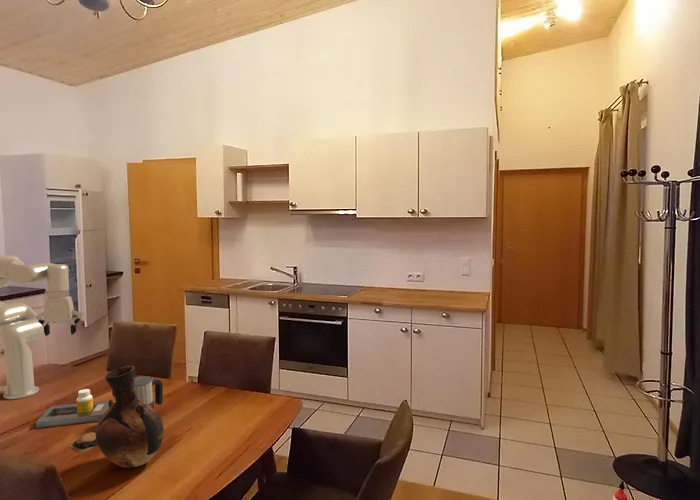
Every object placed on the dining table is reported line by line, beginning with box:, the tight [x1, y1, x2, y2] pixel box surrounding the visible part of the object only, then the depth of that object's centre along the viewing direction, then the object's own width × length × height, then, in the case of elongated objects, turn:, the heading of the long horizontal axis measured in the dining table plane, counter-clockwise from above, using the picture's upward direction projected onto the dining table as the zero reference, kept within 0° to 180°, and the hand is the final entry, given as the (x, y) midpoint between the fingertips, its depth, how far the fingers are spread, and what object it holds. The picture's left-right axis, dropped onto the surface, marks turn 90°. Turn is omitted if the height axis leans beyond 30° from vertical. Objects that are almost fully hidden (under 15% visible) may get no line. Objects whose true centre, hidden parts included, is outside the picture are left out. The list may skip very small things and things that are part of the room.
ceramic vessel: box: [95, 365, 164, 469], centre depth 141 cm, size 21×18×30 cm
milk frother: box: [134, 375, 164, 410], centre depth 176 cm, size 14×16×15 cm
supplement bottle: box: [76, 388, 94, 413], centre depth 177 cm, size 5×5×10 cm
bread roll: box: [69, 431, 98, 453], centre depth 155 cm, size 11×8×4 cm
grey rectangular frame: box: [35, 399, 110, 429], centre depth 176 cm, size 22×14×2 cm, turn 104°
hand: (60, 334), depth 192 cm, fingers open, 9 cm apart
